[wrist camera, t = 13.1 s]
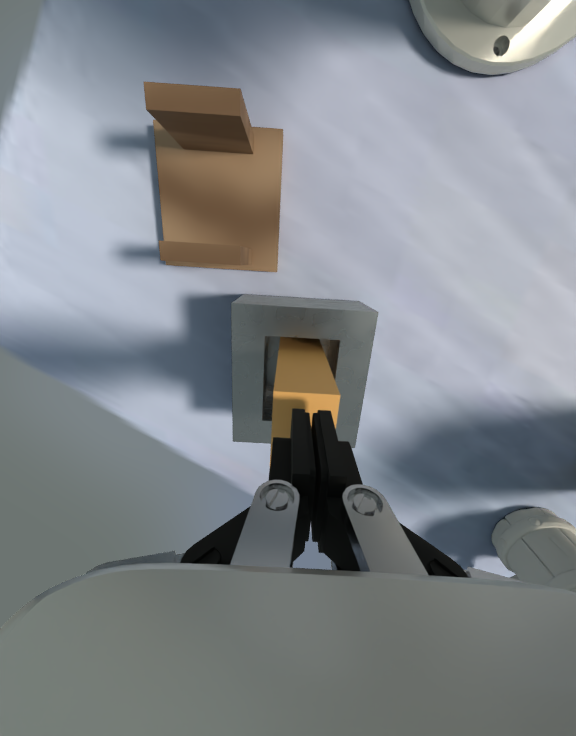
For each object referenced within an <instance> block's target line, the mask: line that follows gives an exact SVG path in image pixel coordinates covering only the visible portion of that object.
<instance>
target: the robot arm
mask: <svg viewBox="0 0 576 736" xmlns="http://www.w3.org/2000/svg"><path fill="white" fill-rule="evenodd" d="M409 1H410V4H411V8H412V11H413V14H414V16H415V18H416V20H417V22H418V24H419V26H420V28H421V30H422V32H423V34H424V35H425V37H426V38H427V39H428V40H429V42H430V43H431V44H432V45H433V47H434V48H435V49H436V50H437V52H438V53H440V54H441V55H442V56H443V57H445V58H446V59H447V60H449V61H450V62H451V63H452V64H454V65H456V66H458V67H461V68H463V69H465V70H468V71H470V72H474V73H481V74H488V75H496V74H505V73H512V72H515V71H518V70H521V69H524V68H527V67H530V66H533V65H535V64H536V63H538V62H540V61H542V60H543V59H545V58H547V57H549V56H550V55H552V54H554V53H555V52H556V51H558V50H559V49H560V48H562V47H563V46H564V45H565V44H567V43H568V42H569V41H571V40H572V39H573V38H575V37H576V0H409ZM310 523H311V529H312V540H313V542H318V549H319V553H325V555H327V556H328V557H329V558H330V559H331V560H332V561H331V568H332V570H322V569H305V568H293V561H294V560H295V559H296V558H297V557H299V556H300V555H301V554H302V553H303V552H304V548H305V541H308V539H309V531H310ZM0 736H576V593H575V592H571V591H568V590H564V589H560V588H554V587H549V586H544V585H537V584H530V583H526V582H523V581H519V580H515V579H512V578H508V577H504V576H501V575H497V574H493V573H490V572H486V571H482V570H479V569H475V568H471V567H468V568H467V570H463V569H462V568H461V567H460V565H458V564H457V563H456V562H455V561H454V560H452V559H451V558H450V557H448V556H447V555H445V554H444V553H442V552H441V551H439V550H438V549H437V548H435V547H434V546H432V545H431V544H429V543H428V542H427V541H425V540H424V539H422V538H421V537H419V536H418V535H416V534H415V533H414V532H412V531H411V530H409V529H408V528H406V527H405V526H403V525H402V524H401V523H399V522H398V520H397V518H396V517H395V515H394V513H393V511H392V510H391V508H390V506H389V504H388V502H387V501H386V499H385V498H384V496H383V495H382V494H381V493H380V492H378V491H377V490H376V489H374V488H372V487H370V486H366V485H363V484H362V481H361V478H360V474H359V471H358V468H357V465H356V461H355V458H354V455H353V452H352V448H351V445H350V443H349V442H348V441H338V437H337V433H336V429H335V425H334V421H333V417H332V413H331V411H329V410H318V412H317V413H313V416H312V425H311V422H310V413H308V412H305V409H296V408H292V419H291V432H290V438H281V437H273V444H272V453H271V463H270V472H269V481H267V482H265V483H263V484H262V485H261V486H259V487H258V489H257V491H256V492H255V495H254V498H253V501H252V504H251V506H250V507H249V508H247V509H246V510H244V511H243V512H241V513H240V514H238V515H237V516H235V517H234V518H233V519H231V520H230V521H228V522H227V523H225V524H224V525H222V526H221V527H219V528H218V529H216V530H215V531H213V532H212V533H210V534H209V535H207V536H206V537H205V538H203V539H202V540H200V541H199V542H197V543H196V544H194V545H193V546H192V547H191V548H189V549H188V550H187V551H186V553H182V554H177V555H176V553H175V551H171V552H165V553H159V554H154V555H147V556H142V557H136V558H130V559H124V560H118V561H113V562H107V563H104V564H101V565H98V566H96V567H94V568H93V569H91V570H90V571H88V572H87V573H86V574H84V575H81V576H77V577H74V578H72V579H69V580H67V581H65V582H62V583H60V584H58V585H56V586H54V587H52V588H49V589H48V590H46V591H44V592H43V593H41V594H39V595H38V596H36V597H35V598H33V599H32V600H31V601H29V602H28V603H27V604H26V605H24V606H23V607H22V608H21V609H20V610H19V611H17V612H16V613H15V614H14V615H13V616H12V617H11V618H10V619H9V620H8V621H7V622H6V623H5V624H4V625H3V626H2V627H1V628H0Z"/></svg>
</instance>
